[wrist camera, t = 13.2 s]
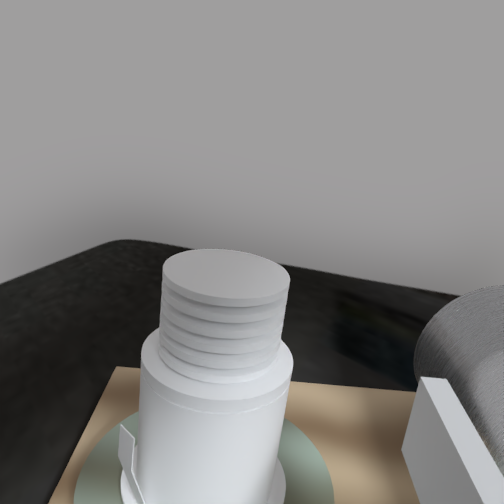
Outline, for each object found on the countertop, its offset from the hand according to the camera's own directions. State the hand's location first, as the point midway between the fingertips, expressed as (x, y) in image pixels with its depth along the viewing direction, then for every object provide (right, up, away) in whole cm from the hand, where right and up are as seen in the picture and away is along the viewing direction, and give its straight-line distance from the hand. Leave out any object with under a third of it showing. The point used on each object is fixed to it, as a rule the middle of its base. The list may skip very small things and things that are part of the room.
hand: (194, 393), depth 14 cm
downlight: (0, -6, +7) cm, 9 cm away
